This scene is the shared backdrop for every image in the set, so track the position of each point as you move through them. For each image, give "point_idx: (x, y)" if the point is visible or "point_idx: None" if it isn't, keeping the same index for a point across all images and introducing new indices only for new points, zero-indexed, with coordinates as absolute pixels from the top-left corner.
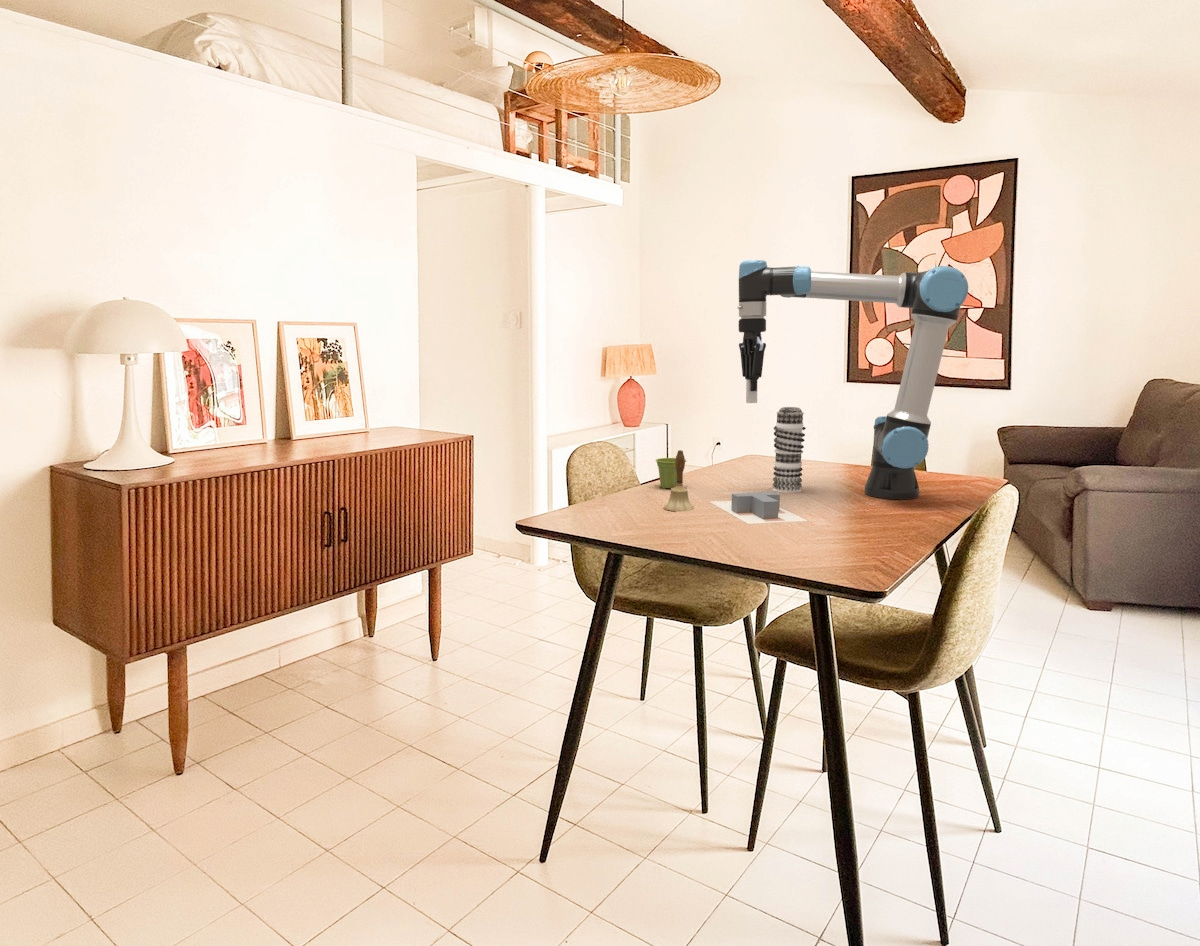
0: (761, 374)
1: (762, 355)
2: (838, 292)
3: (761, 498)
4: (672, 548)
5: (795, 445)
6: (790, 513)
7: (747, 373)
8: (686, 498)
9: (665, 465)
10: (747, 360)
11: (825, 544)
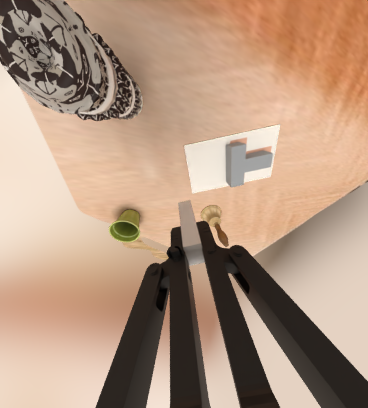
0: (248, 253)
1: (354, 374)
2: None
3: (257, 166)
4: (299, 220)
5: (126, 76)
6: (249, 133)
7: (191, 284)
8: (218, 214)
9: (138, 233)
10: (201, 353)
11: (345, 132)
